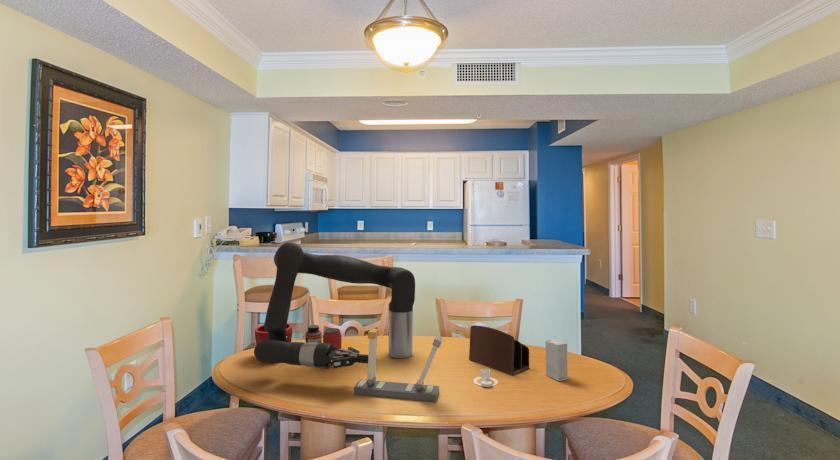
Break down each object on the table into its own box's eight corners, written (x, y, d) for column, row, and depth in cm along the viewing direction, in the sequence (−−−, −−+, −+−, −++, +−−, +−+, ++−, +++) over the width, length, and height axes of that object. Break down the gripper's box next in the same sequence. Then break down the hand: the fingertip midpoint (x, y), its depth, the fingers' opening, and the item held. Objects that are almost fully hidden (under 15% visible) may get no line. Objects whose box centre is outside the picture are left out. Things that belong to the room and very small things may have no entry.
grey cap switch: (416, 383, 128) (436, 334, 126) (422, 386, 128) (443, 337, 126) (413, 388, 124) (434, 338, 122) (420, 392, 124) (441, 341, 122)
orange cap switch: (369, 380, 131) (372, 328, 130) (376, 381, 130) (379, 329, 129) (365, 385, 127) (368, 331, 126) (372, 386, 126) (375, 332, 126)
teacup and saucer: (491, 391, 130) (491, 378, 130) (468, 385, 135) (468, 372, 134) (501, 381, 138) (502, 369, 138) (479, 376, 142) (479, 364, 142)
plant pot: (274, 350, 165) (273, 320, 165) (299, 355, 160) (299, 324, 159) (247, 361, 154) (246, 328, 153) (274, 367, 148) (273, 333, 147)
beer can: (337, 367, 148) (337, 333, 148) (319, 365, 150) (319, 332, 149) (344, 360, 155) (344, 328, 154) (327, 359, 156) (327, 327, 156)
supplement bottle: (307, 353, 163) (307, 324, 162) (322, 352, 163) (322, 323, 163) (304, 358, 157) (304, 328, 156) (320, 358, 157) (320, 328, 157)
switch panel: (360, 385, 133) (360, 378, 133) (439, 392, 128) (439, 385, 128) (353, 394, 126) (353, 386, 126) (435, 401, 122) (435, 394, 122)
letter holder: (512, 376, 142) (513, 334, 141) (468, 360, 156) (469, 322, 156) (529, 369, 148) (530, 329, 148) (485, 354, 163) (486, 318, 162)
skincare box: (568, 379, 139) (568, 343, 138) (557, 382, 137) (558, 345, 136) (554, 373, 144) (555, 338, 144) (544, 375, 142) (545, 339, 142)
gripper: (307, 350, 125) (362, 354, 122) (326, 337, 138) (376, 340, 135) (307, 374, 126) (362, 379, 122) (326, 359, 139) (376, 363, 135)
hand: (370, 359), depth 128 cm, fingers closed
